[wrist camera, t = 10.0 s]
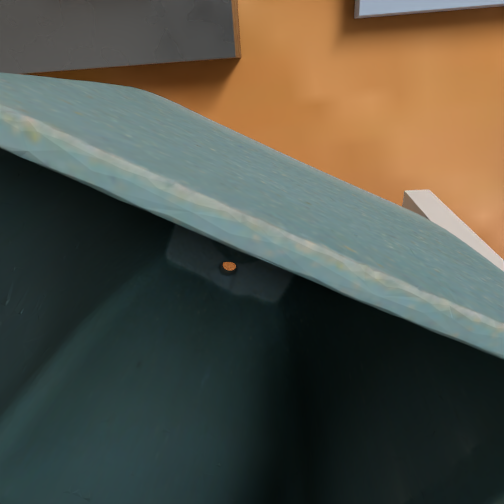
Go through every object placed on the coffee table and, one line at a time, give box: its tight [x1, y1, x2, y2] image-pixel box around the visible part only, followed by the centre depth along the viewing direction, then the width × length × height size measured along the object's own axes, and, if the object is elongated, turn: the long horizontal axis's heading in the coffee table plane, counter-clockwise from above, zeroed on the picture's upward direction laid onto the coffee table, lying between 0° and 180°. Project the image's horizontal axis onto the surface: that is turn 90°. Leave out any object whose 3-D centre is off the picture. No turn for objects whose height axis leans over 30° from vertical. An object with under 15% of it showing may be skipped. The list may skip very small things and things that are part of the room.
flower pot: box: [0, 73, 504, 504], centre depth 9 cm, size 9×9×9 cm
